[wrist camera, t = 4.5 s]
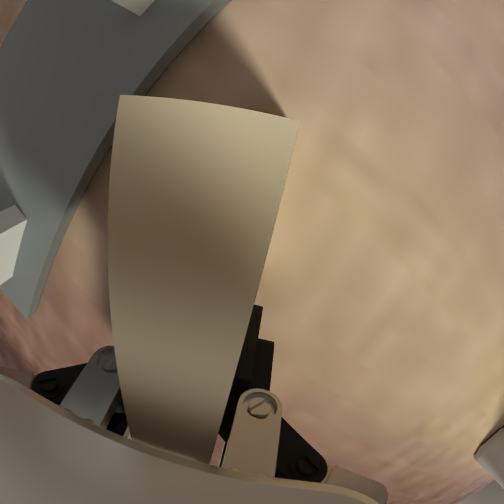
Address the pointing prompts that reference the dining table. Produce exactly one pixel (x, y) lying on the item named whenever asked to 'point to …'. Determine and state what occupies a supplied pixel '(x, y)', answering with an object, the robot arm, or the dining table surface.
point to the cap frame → (71, 113)
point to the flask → (493, 456)
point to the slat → (188, 257)
